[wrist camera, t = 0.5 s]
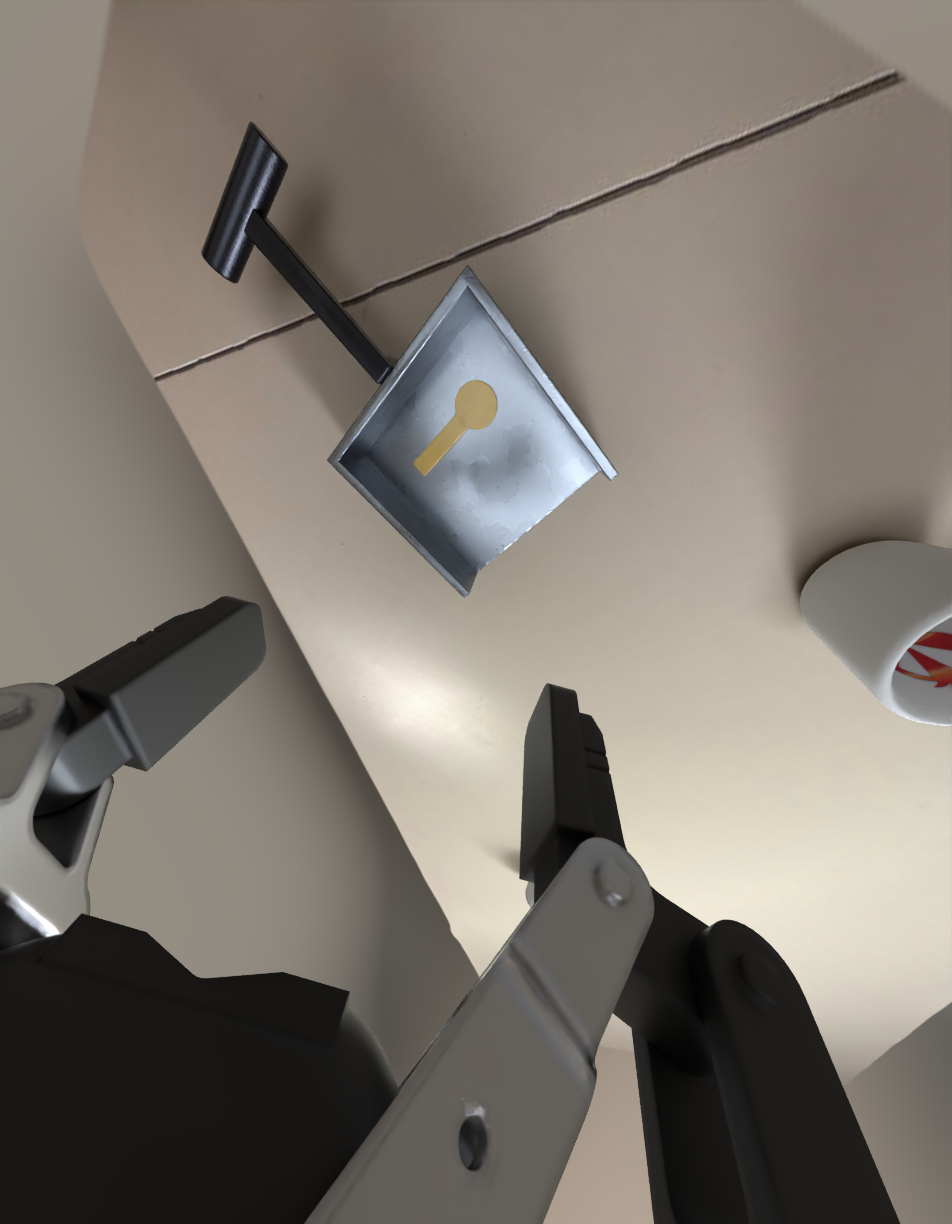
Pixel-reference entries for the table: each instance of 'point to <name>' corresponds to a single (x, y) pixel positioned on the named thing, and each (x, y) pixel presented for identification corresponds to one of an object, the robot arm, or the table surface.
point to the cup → (889, 623)
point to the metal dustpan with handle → (427, 399)
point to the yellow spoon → (461, 421)
